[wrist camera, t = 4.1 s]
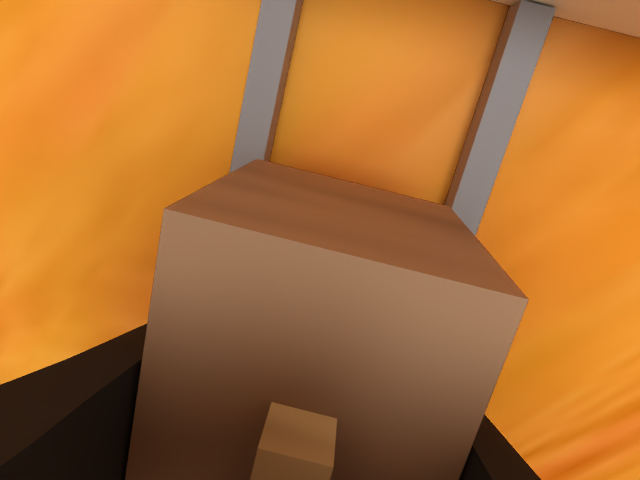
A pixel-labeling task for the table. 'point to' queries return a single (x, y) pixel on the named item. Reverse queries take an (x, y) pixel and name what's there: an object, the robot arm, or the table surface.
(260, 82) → the wall board
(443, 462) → the cabinet block
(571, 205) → the table surface
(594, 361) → the table surface
